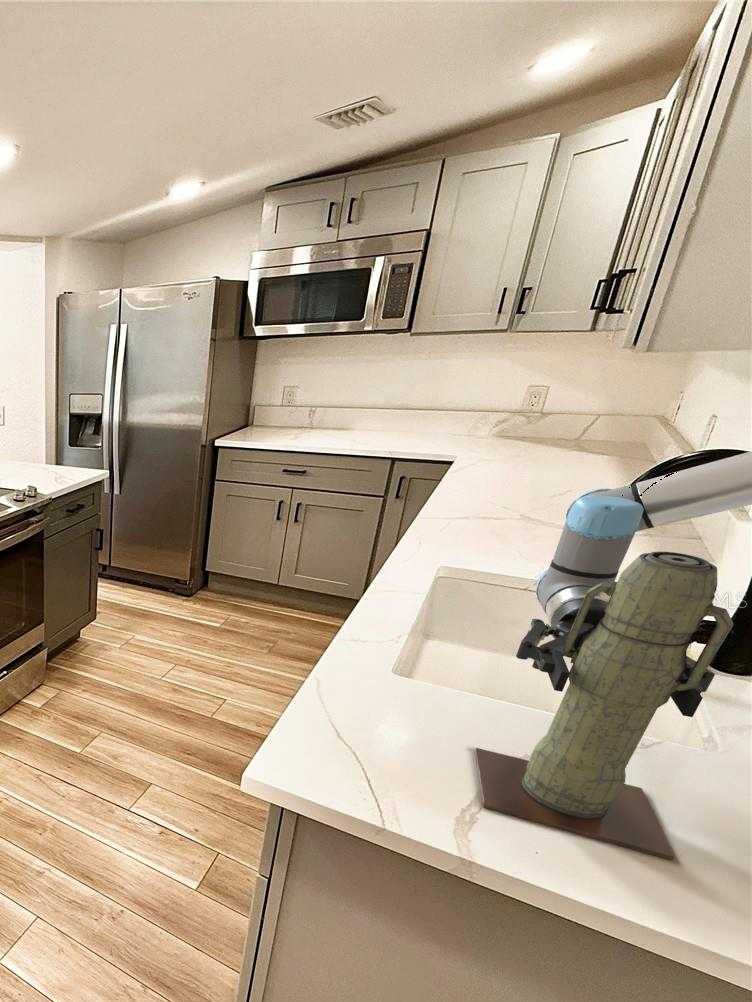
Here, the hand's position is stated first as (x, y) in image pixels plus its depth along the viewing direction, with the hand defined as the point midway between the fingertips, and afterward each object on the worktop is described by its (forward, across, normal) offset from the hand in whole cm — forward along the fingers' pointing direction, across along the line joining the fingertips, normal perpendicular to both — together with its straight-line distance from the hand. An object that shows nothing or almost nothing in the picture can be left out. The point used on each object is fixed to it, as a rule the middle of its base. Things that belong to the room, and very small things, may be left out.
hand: (624, 693), depth 73 cm
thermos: (-4, 0, -19) cm, 20 cm away
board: (-4, 0, -20) cm, 20 cm away
